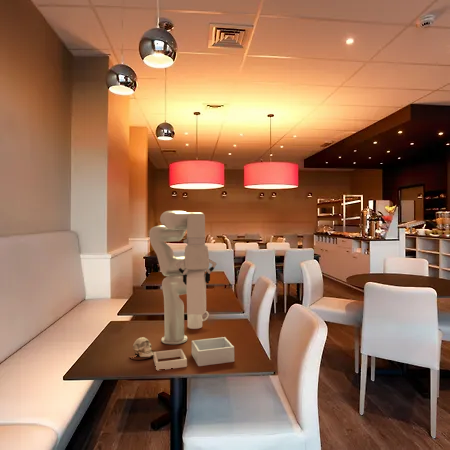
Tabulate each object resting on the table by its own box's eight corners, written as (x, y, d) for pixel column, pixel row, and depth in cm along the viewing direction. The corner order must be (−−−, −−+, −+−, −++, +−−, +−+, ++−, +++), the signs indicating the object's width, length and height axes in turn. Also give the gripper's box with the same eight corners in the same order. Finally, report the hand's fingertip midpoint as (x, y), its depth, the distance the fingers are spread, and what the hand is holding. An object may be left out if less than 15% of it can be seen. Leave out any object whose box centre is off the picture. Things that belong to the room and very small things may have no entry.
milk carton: (204, 314, 143) (203, 268, 143) (187, 314, 143) (186, 268, 143) (206, 310, 150) (205, 266, 150) (189, 310, 150) (189, 266, 150)
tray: (153, 359, 148) (153, 352, 148) (181, 355, 151) (181, 348, 151) (156, 370, 136) (156, 362, 136) (186, 366, 140) (186, 359, 140)
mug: (208, 329, 188) (208, 311, 188) (186, 328, 190) (186, 310, 189) (210, 324, 196) (210, 307, 196) (189, 324, 198) (189, 307, 197)
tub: (191, 354, 153) (191, 340, 153) (225, 350, 157) (224, 337, 157) (198, 366, 140) (198, 351, 140) (234, 361, 145) (234, 347, 145)
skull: (164, 352, 153) (151, 338, 148) (149, 373, 148) (135, 360, 143) (149, 344, 162) (136, 331, 157) (134, 364, 157) (120, 351, 151)
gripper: (176, 243, 141) (176, 286, 141) (218, 242, 145) (218, 283, 145) (174, 242, 148) (174, 283, 148) (214, 241, 152) (214, 280, 152)
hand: (196, 283), depth 147 cm, fingers closed on milk carton, 8 cm apart
